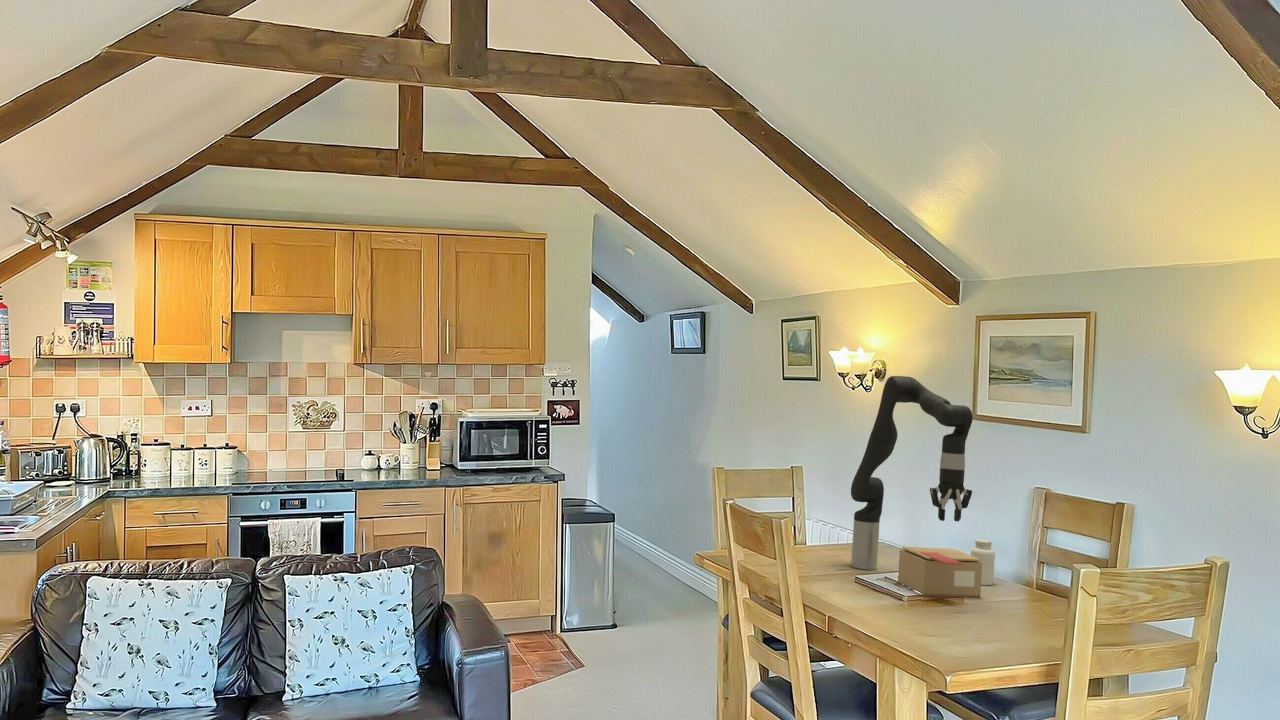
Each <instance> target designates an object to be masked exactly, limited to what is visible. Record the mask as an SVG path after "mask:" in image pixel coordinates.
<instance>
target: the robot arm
mask: <svg viewBox="0 0 1280 720" xmlns="http://www.w3.org/2000/svg"><path fill="white" fill-rule="evenodd" d="M897 403H903V404H904V403H905V404H907V403H912V404H913V403H914V404H919V407H920V409H921V410H922V411H923V412H924V413H925V414H927V415H930V416H931V417H932V418H934V419H935V420H936V421H937V422H938V423H939V424H940V425H942V426H943V427H944V426H945V427H949V428H954V429H953V432H952V433H948V434H945V435H944V436H943V437H942V443H941V444H942V445H941V456H940V461H939V462H940V463H939V479H938V480H939V484H938V486H936V487H930V488H929V495H930V497H931V498H930V499H931V502H932V506H933V507H937V508H938V512H937V518H938V520H939V521H940V522H944V521H945V517H946V509H945V507H946V506H947V503H948V502H949V500H952V502H953V503H954V507H955V508H954V512H953V513H954V515H953V520H954V522H960V520H961V519H962V510H963V509H967V508H968V506H969V503H970V502H971V501H970V500H971V498H972V495H973V490H971V489H967V488H965V487H964V482H965V469H966V456H965V455H966V441H967V439H968V434H969V432H970V429H971V426H972V423H973V420H974V417H973V416H974V415H973V413H972V410H971V408H970V407H969V406H967V405H960V404H959V405H958V404H951V402H950V401H949V400H947V399H946V398H944V397H942V396H940V395H939V394H936V393H934V392H932V391H931V390H929V389H928V388H927V387H926V386H924V385H923V384H922V383H921V382H920V381H918V380H917V379H916V378H914V377H912V376H905V375H891V376H889V377H887V379H886V381H885V383H884V386H883V391H882V393H881V398H880V403H879V407H878V411H877V415H876V418H875V421H874V424H873V426H872V427H873V428H872V430H871V432H870V435H869V438H868V441H867V444H866V449H865V452H864V454H863V457H862V459H861V462H860V464H859V466H858V469H857V470H856V473H855V475H854V478H853V480H852V483H851V486H850V495H851V499H853V500H854V502H858V503H866V505H865V506H864V507H863V508H860V509H859V510H856V511H855V512H854V515H853V530H852V531H853V532H852V548H851V559H850V560H851V561H850V562H851V565H850V566H851V567H852V568H854V569H859V570H866V571H867V570H868V571H870V570H871V571H872V570H874V571H875V570H878V557H879V556H878V554H879V538H880V524H881V523H880V521H881V520H880V519H881V516H882V511H883V504H884V503H883V502H884V492H885V490H884V489H885V487H884V482H883V481H882V479H881V478H879V477H875V476H873V474H874V472H875V471H876V469H878V468H879V467H880V466H881V465H882V464H883V463H885V461H887V460H888V459H889V458H890V456H891V455H892V453H894V449H895V446H896V443H897V440H898V429H897V425H896V424H895V420H894V411H895V407H896V404H897ZM872 476H873V477H872ZM939 493H940V497H939ZM962 494H963V497H961V496H962Z"/></svg>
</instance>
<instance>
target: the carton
mask: <svg viewBox="0 0 1280 720" xmlns="http://www.w3.org/2000/svg"><path fill="white" fill-rule="evenodd" d="M915 552H934V553H961V554H967V553H966V552H963V551H961V550H957V549H955V548H945V547H944V548H942V547H939V548H938V547H919V546H918V547H917V546H915V547H914V546H912V547H911V546H902V549H899V559H898V577H897V583H898V582H900V583H902V584H904V585H905V586H907V587H909V588H911V589H913V590H916V591H918V592H920V593H921V594H922V595H921V596H922V597H943V598H944V597H949V598H951V597H952V598H975V599H976V598H978V599H979V598H981V592H982V585H981V576H982V562H979V561H959V560H956V561H959V562H961V563H963V565H954V564H943V563H941V562H939V561H936V560H931V559H926V558H924V557H921V556H919V555H917V554H915ZM905 586H904V587H905ZM907 587H906V588H907ZM909 588H908V589H909ZM911 589H910V590H911Z"/></svg>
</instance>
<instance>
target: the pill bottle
mask: <svg viewBox="0 0 1280 720" xmlns="http://www.w3.org/2000/svg"><path fill="white" fill-rule="evenodd" d="M974 543H975V547H973V548H971V550H970V555H971V556H973V557H976V558H978V559H981V561H979V562H982V576H981V586H992V585H993V584H994V575H995V574H994V573H995V560H996V559H995V558H996V553H995V552H996V551H995V550H993V549H992V541H991V540H988V539H976V540H975V542H974Z"/></svg>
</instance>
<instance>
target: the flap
mask: <svg viewBox="0 0 1280 720" xmlns="http://www.w3.org/2000/svg"><path fill="white" fill-rule="evenodd" d="M915 554H917V555H919V556H921V557H924V558H926V559H931V560H936V561H939V562H941V563H943V564H954V565H963V563H961V562H959V561H981V559H978V558H976V557H973V556H971V554H968V553H966V554H961V553H934V552H915ZM956 560H959V561H956Z"/></svg>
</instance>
